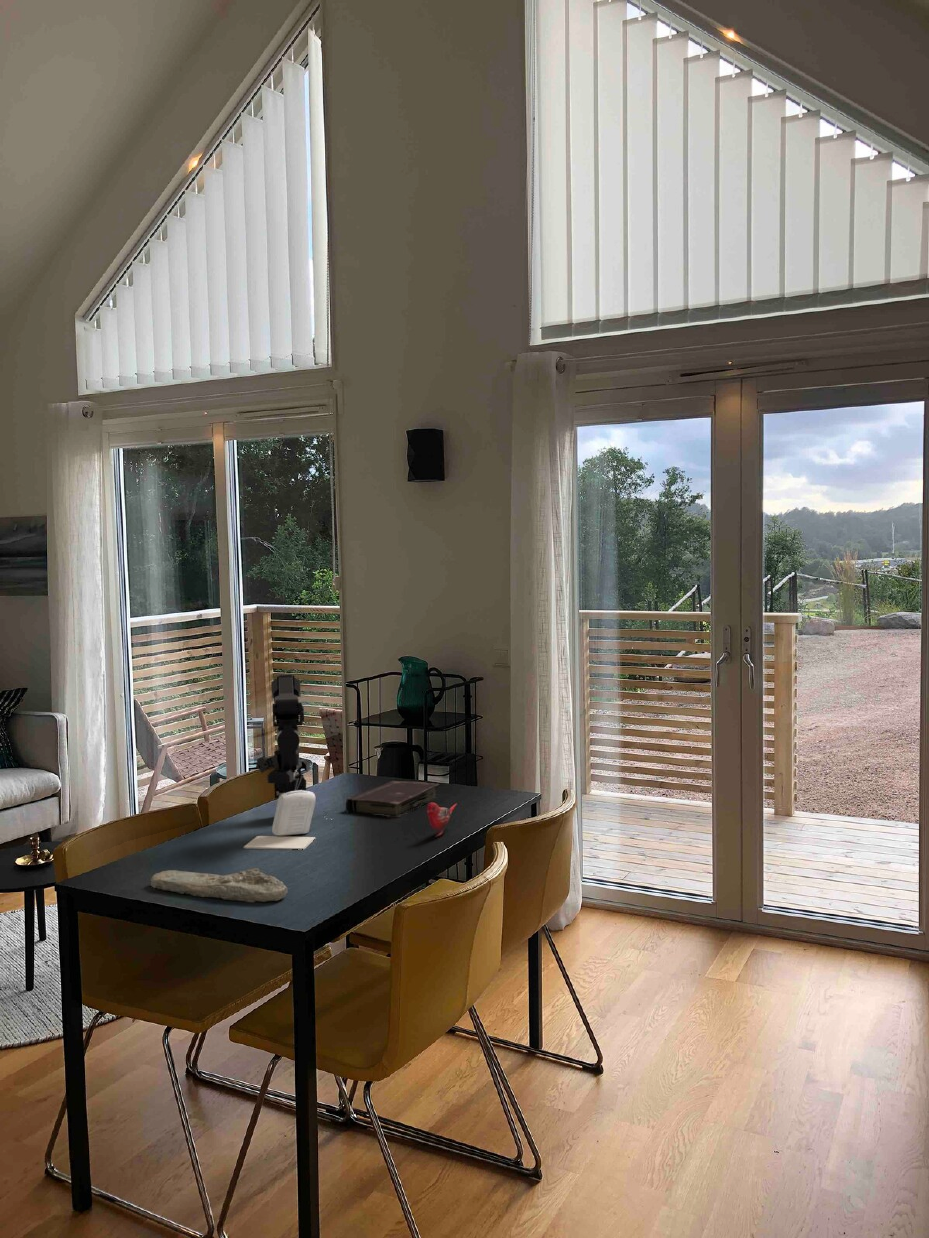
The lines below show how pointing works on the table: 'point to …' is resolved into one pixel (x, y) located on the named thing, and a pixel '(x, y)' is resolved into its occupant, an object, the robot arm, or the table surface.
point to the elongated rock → (222, 885)
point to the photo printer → (294, 813)
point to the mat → (279, 842)
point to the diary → (392, 798)
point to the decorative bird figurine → (439, 816)
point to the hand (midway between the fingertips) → (290, 802)
